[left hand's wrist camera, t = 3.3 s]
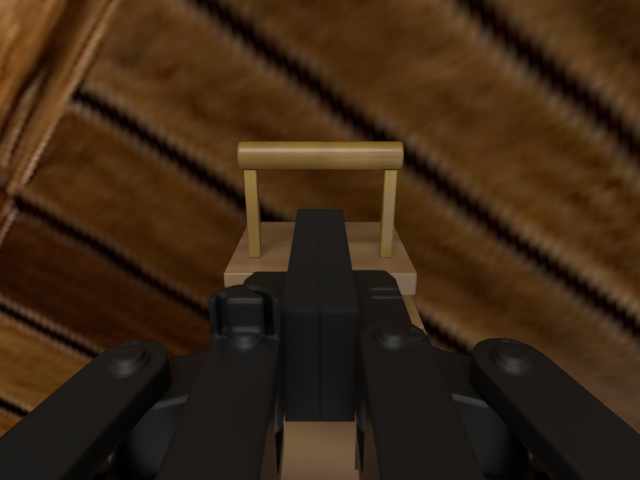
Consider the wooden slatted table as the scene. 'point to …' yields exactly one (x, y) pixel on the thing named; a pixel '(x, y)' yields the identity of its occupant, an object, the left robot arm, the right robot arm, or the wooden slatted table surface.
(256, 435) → the left robot arm
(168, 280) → the wooden slatted table surface
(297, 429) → the cabinet
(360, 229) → the drawer
